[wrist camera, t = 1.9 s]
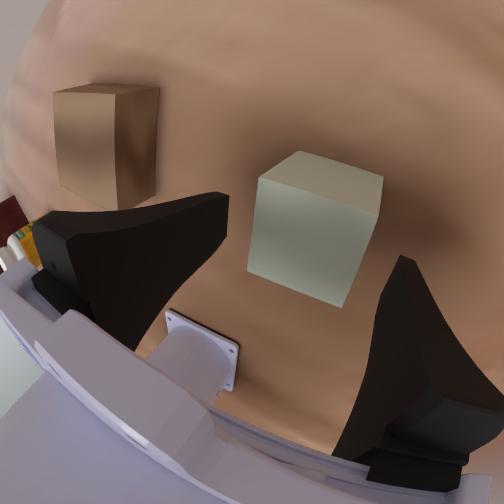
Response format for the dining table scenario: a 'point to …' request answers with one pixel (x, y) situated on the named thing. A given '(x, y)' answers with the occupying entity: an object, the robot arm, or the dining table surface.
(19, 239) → the supplement bottle
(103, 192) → the walnut block
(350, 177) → the sage block
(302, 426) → the dining table surface
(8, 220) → the red lidded box
